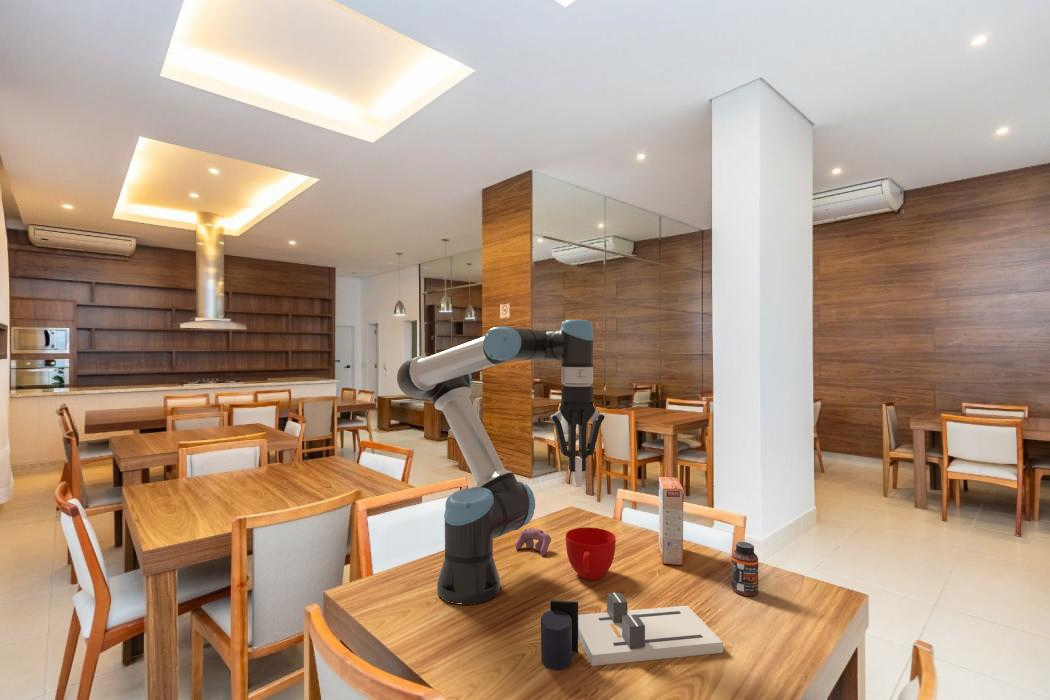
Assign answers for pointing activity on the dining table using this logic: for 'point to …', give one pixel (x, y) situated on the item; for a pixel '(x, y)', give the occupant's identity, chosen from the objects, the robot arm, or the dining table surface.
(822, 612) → the dining table surface
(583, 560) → the ceramic cup
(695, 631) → the mixing board
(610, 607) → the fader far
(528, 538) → the purple arched piece
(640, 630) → the fader near
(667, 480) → the cracker box
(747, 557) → the supplement bottle
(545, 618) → the speaker
